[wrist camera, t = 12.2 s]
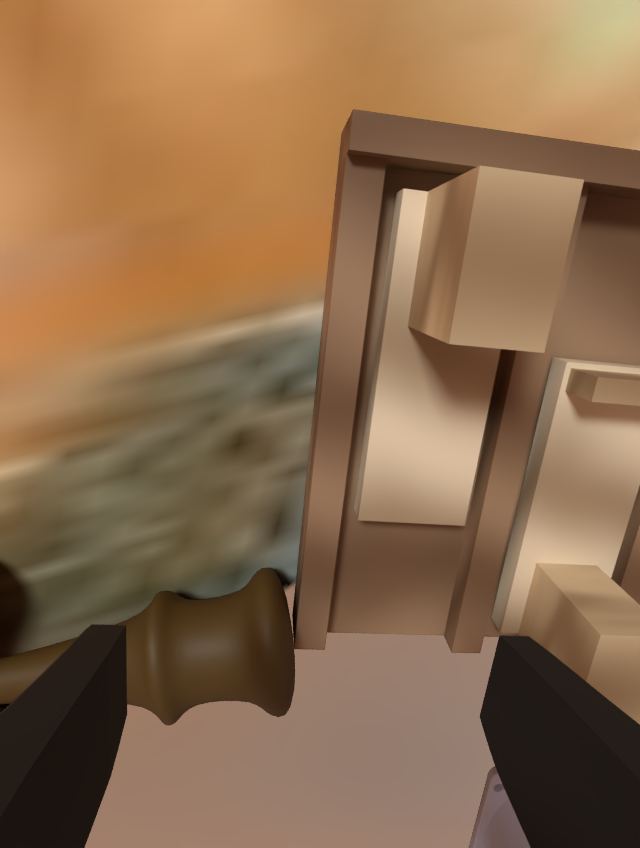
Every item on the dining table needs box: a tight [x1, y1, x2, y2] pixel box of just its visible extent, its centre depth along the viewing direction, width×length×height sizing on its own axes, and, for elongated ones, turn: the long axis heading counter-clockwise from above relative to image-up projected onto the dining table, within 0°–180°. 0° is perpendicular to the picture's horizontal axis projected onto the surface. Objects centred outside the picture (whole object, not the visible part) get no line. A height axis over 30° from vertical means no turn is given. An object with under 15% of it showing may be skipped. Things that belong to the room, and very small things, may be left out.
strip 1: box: [354, 166, 584, 526], centre depth 15 cm, size 11×4×5 cm, turn 174°
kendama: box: [0, 568, 295, 725], centre depth 18 cm, size 6×10×20 cm
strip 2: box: [491, 357, 640, 724], centre depth 17 cm, size 12×4×5 cm, turn 174°
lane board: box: [292, 109, 640, 653], centre depth 18 cm, size 18×14×2 cm
